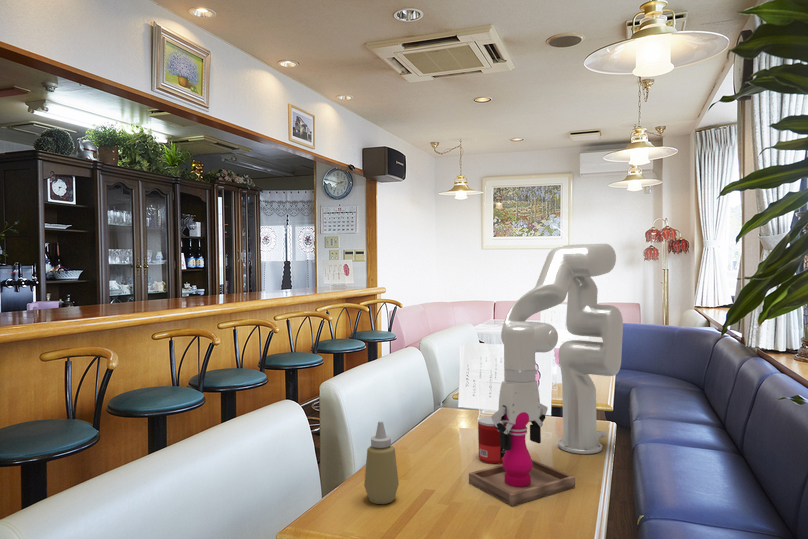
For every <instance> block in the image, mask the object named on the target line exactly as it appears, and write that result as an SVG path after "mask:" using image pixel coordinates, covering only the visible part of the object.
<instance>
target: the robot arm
mask: <svg viewBox="0 0 808 539" xmlns="http://www.w3.org/2000/svg"><path fill="white" fill-rule="evenodd" d="M616 261H617V255H616V251H615V249H614V248H613V246H612V245H610V244H608V243H587V244H586V243H585V244H584V243H579V244H567V245H563V246H559V247H555V248H552V249H551V250H550V251H549V252H548V253H547V255H546V259H545V261H544V264H543V266H542V268H541V271H540V274H539V276H538V279H537V281H536V284H535V287H533V288H531V290H528V291H527V292H526V293H525V294H523V295H522V296H521V297H520V298H519V299H517V300H516V301H515V302H514V303H513V304H512V305H511V307H510V308H509V310H508V312H507V315H506V316H505V319H504V322H503V325H502V328H501V334H500V338H501V342H502V344H503V368H504V369H503V372H504V373H503V374H504V377H503V379H504V380H503V381H501V384H500V390H499V395H498V396H499V397H498V410H497V411H496V412H494V413H493V414H492V415H491V416H490V417H491V419H492V421H493V423H494V426H495V427H496V428H497V429H498V431H499V432H500V447H501V448H503V449H505V450H508V451H509V450H511V434H509V431H510V429H511V427H512V426H513V425H514V424H515V421H516V418H517V416H518V415H519V414H520V413H522V412H526V413H527V414H528V415H529V422H528V423H530V424H529V441H531V442H533V443H535V444H541V443H542V442H541V441H542V435H541V434H542V430H541V428H542V427H543V425H544V424H543V423H544V420H546V414H547V412H548V410H549V409H548V406H546V405H544V404H542V403H541V401H540V390H539V386H538V381H537V380H536V375H537V374H538V370H537V368H536V353H548V352H551V351H552V350H554V349H555V348H556V346H557V344H558V340H559V335H558V331H557V329H556V328H555V326H553V325H552V324H550V323H547V322H540V321H539V322H538V321H537V322H536V321H527V320H528V319H529V318H530V317H532V316H534V315H535V314H537V313H539V312H543V311H546V310H548V309H551V308H554V307H556V306H559V305H560V304H562V303H563V302H564V301H565V300H566V298H567V304H566V317H565V319H566V321H565V323H566V324H565V325H566V329H567V331H568V333H570V334H571V335H575V336H577V337H579V336H580V337H590V338H591V337H593V338H600V339H601V340H602V341H592V340H577V339H574V340H573V339H571V340H567V341H565V342H563V343H561V345H560V346H559V349H558V362H559V367H560V374H561V385H562V386H561V388H562V392H561V393H562V396H561V397H562V438H559V439H558V441H557V446H558V448H559V449H561V450H562V451H566V452H568V453H573V454H580V455H591V454H597V453H600V452H601V451H602V450H603V444H602V443H601V442H600V441H599V440H600V439H602V438H606V437H607V435H608V433H607V431H606V430H600V431H598V430H597V425H598V424H597V388H596V385H595V382H594V381H593V380H592V377H591V376H590V375H593V376H594V375H595V376H603V377H613V376H616V375H617V374H618V373H619V372H620V370H621V367H622V355H623V354H622V351H623V350H622V349H623V335H624V334H623V330H624V320H623V315H622V312H621V310H620V309H619V308H618V307H616V306H615V305H611V304H598V286H597V284H596V282H595V281H594V280H593V278H592V277H598V276H602V275H606V274H609V273H610V272H612V270H613V269H614V268H615V266H616ZM506 413H507V417H508V419H509V420H506V419H505V416H504V415H505V414H506ZM500 421H501V423H500ZM506 424H507V425H506ZM505 425H506V427H505Z"/></svg>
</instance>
